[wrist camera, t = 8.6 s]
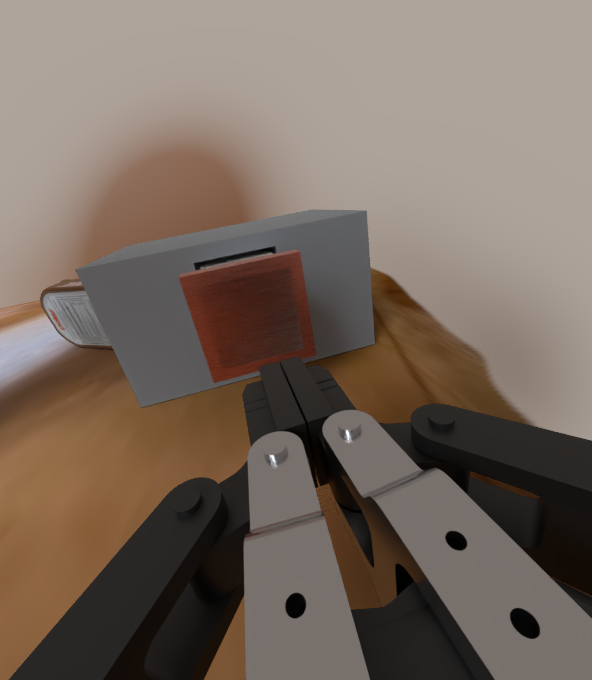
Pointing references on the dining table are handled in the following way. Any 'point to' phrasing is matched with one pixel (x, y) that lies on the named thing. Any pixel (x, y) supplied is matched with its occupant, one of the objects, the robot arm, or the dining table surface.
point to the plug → (249, 311)
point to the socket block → (186, 256)
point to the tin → (74, 314)
